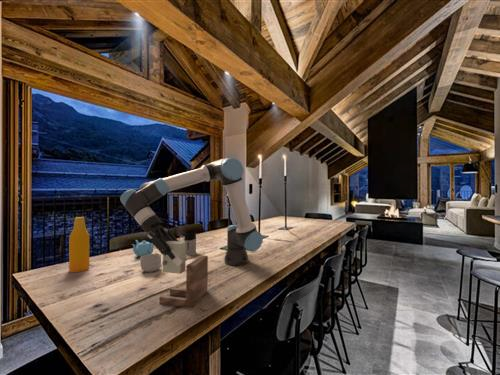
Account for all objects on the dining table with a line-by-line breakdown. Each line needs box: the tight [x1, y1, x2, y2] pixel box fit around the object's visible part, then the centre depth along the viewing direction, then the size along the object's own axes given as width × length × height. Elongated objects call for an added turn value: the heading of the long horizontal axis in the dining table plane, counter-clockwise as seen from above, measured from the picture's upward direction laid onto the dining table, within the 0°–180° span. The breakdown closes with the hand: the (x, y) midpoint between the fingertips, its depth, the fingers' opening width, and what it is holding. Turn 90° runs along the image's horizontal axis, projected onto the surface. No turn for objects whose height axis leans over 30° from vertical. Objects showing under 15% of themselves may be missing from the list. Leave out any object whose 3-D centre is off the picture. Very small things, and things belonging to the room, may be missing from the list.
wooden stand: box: [159, 254, 209, 308], centre depth 100 cm, size 14×14×16 cm
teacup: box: [139, 252, 162, 273], centre depth 132 cm, size 14×11×8 cm
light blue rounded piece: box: [131, 239, 155, 258], centre depth 156 cm, size 13×13×10 cm
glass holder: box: [178, 230, 197, 256], centre depth 160 cm, size 9×14×15 cm, turn 148°
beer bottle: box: [68, 216, 90, 273], centre depth 130 cm, size 9×9×29 cm
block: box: [161, 240, 187, 275], centre depth 97 cm, size 8×5×12 cm, turn 77°
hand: (183, 262), depth 96 cm, fingers closed on block, 4 cm apart
